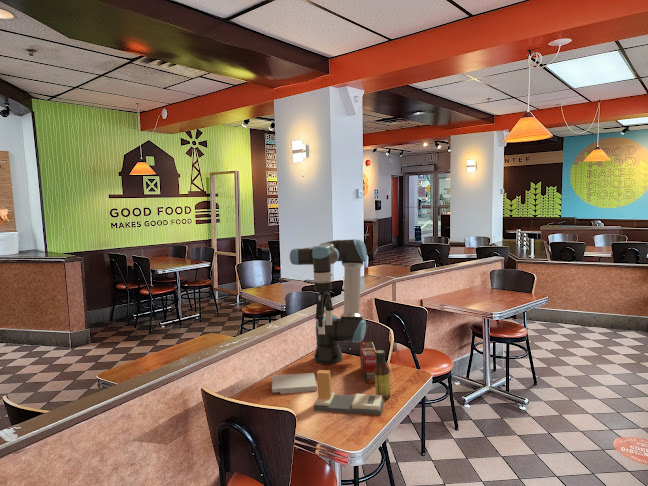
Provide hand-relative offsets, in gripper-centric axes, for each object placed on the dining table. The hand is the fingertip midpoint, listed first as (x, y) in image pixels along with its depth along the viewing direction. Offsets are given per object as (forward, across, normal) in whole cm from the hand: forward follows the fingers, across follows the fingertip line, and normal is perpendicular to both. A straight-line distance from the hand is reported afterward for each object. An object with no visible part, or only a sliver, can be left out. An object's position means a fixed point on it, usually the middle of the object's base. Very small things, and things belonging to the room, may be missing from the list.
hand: (325, 329), depth 188 cm
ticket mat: (+29, -11, -12) cm, 33 cm away
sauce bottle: (+29, -1, -24) cm, 38 cm away
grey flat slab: (+30, +5, +18) cm, 35 cm away
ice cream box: (+29, +21, -15) cm, 39 cm away
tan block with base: (+27, -11, -1) cm, 29 cm away
